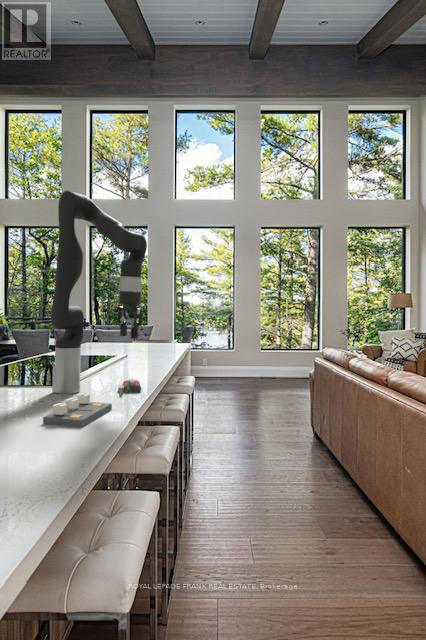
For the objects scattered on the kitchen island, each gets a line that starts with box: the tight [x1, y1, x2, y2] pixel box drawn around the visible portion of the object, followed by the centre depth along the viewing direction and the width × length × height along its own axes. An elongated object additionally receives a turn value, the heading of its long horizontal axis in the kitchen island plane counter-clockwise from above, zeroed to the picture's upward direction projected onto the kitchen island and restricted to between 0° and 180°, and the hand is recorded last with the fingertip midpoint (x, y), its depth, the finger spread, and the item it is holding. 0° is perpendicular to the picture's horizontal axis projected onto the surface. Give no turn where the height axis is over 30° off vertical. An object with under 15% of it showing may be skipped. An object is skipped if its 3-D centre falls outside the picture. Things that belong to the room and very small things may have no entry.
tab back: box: [76, 392, 91, 404], centre depth 136 cm, size 3×3×3 cm
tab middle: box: [64, 396, 79, 409], centre depth 129 cm, size 3×3×3 cm
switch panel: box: [42, 401, 113, 428], centre depth 129 cm, size 12×20×2 cm, turn 170°
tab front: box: [51, 402, 68, 415], centre depth 122 cm, size 3×3×3 cm
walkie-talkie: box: [117, 378, 142, 396], centre depth 166 cm, size 9×4×20 cm
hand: (128, 337), depth 146 cm, fingers open, 8 cm apart
